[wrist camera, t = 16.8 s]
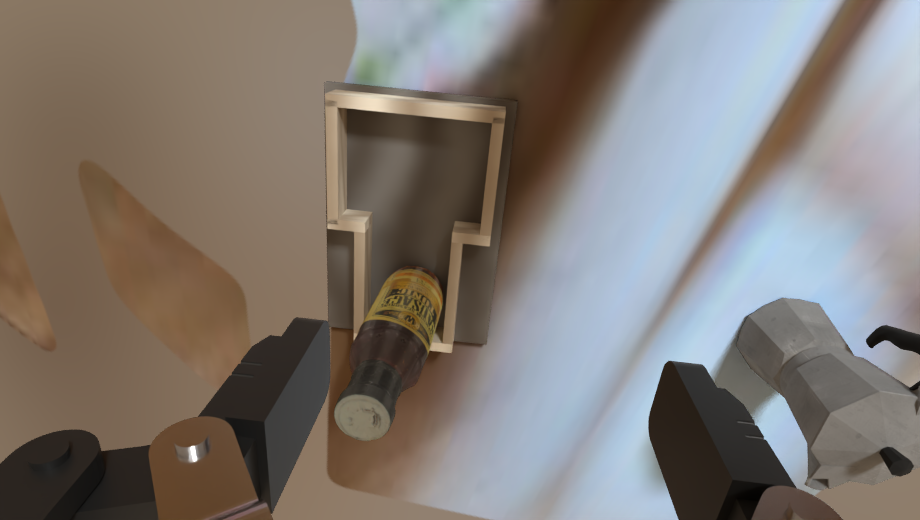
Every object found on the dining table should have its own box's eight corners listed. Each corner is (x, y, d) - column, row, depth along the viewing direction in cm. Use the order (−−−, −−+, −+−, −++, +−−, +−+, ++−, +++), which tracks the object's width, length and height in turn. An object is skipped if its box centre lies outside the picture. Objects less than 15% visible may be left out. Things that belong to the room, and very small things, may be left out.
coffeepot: (770, 398, 58) (877, 548, 41) (702, 359, 56) (784, 497, 40) (886, 293, 52) (1065, 419, 35) (813, 245, 50) (963, 353, 34)
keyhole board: (517, 100, 47) (518, 107, 43) (486, 339, 57) (485, 361, 53) (327, 81, 47) (313, 86, 44) (331, 321, 57) (319, 341, 54)
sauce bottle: (456, 282, 53) (433, 415, 35) (424, 326, 56) (387, 471, 38) (401, 248, 52) (347, 367, 34) (370, 294, 55) (306, 428, 37)
